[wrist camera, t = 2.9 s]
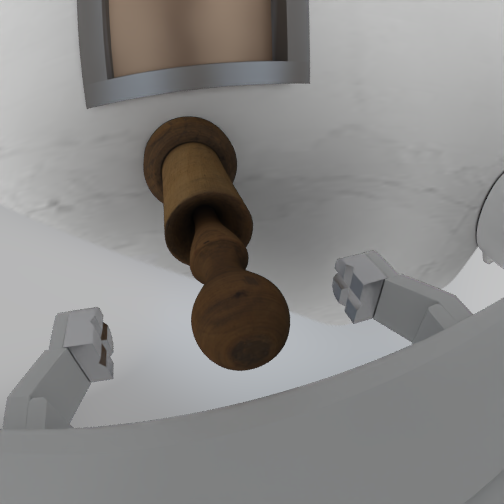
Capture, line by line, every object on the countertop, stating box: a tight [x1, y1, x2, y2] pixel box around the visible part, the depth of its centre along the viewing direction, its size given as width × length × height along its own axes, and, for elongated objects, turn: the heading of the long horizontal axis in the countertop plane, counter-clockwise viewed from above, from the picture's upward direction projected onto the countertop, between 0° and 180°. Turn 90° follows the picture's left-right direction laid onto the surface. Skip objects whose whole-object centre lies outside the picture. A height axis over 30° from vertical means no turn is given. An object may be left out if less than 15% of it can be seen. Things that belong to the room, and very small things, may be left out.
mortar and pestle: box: [144, 117, 290, 371], centre depth 16 cm, size 7×6×18 cm
